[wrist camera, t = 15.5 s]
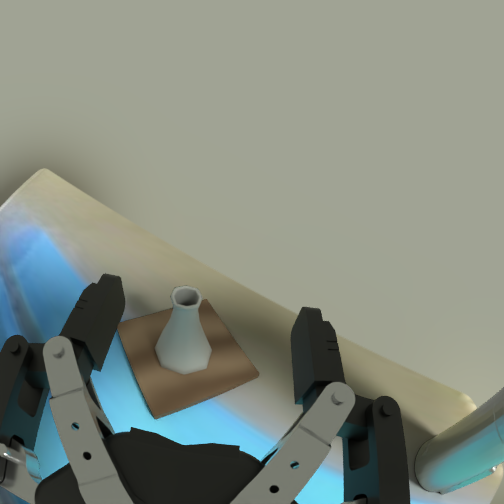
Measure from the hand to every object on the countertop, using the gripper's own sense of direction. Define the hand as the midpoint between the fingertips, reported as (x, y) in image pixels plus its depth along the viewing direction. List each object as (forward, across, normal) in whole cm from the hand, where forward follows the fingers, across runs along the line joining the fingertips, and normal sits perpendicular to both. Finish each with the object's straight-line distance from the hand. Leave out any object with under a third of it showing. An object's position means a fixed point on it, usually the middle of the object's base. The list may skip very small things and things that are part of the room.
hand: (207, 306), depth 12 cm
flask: (+10, +3, +22) cm, 24 cm away
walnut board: (+11, +3, +22) cm, 25 cm away
